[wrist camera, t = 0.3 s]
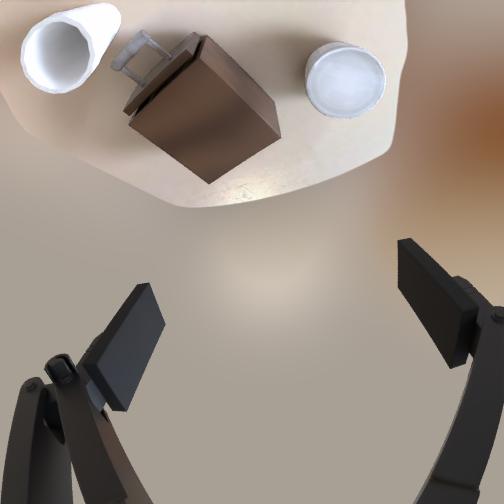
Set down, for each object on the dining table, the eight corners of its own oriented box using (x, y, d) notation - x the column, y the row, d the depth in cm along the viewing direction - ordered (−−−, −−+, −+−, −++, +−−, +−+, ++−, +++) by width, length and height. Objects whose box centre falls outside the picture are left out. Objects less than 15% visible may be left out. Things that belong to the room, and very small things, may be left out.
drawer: (110, 64, 34) (90, 88, 30) (165, 7, 29) (150, 20, 24) (202, 136, 47) (198, 167, 42) (260, 94, 41) (263, 122, 37)
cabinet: (145, 90, 40) (128, 125, 34) (207, 34, 33) (199, 57, 28) (212, 145, 49) (209, 184, 44) (274, 102, 43) (281, 137, 38)
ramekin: (359, 25, 32) (373, 36, 29) (381, 88, 40) (394, 104, 37) (285, 52, 36) (290, 65, 33) (316, 111, 44) (323, 129, 41)
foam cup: (101, 63, 35) (63, 107, 27) (58, 30, 28) (8, 67, 21) (145, 18, 30) (112, 48, 23) (99, -20, 24) (50, 0, 17)
